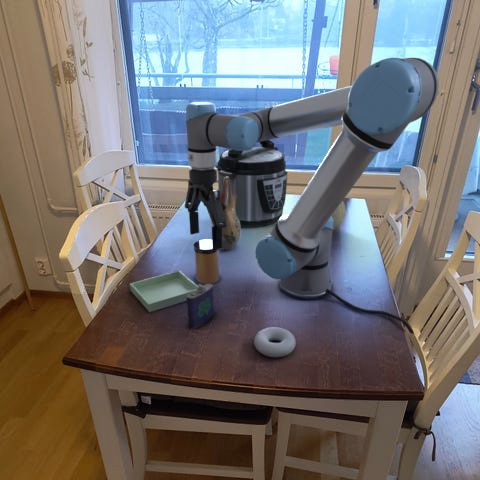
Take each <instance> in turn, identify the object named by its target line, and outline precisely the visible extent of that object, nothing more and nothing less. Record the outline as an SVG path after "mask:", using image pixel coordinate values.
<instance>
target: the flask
mask: <svg viewBox="0 0 480 480" xmlns="http://www.w3.org/2000/svg"><path fill="white" fill-rule="evenodd" d="M197 286H198V289H197V290H196V291H195V292H193V293H190V294H188V295H187V297H186V300H187V301H186V307H187V308H186V309H187V318H188V328H190V329H196V328H199V327H201V326H203V325H204V324H205V323H207V322H208V321H210V320H211V319H212V318H213V317H214V315H215V306H214V286H213V284H202V283H198V284H197Z"/></svg>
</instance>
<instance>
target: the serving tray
mask: <svg viewBox="0 0 480 480" xmlns="http://www.w3.org/2000/svg"><path fill="white" fill-rule="evenodd" d="M198 287H199V285H198V284H197V283H195V282H194V281H192V279H190V278H189V277H188V276H187V275H186V274H185V273H183V272H182V270H180V269H177V270H174V271H172V272H171V271H170V272H168V273H163V274H159V275H156V276H153V277H149V278H145V279H141V280H138V281H137V280H136V281H134V282H129V288H130V292H131V293H132V294H133V295H134V296H135V298H136V299H137V300H138V301H139V302H140V303H141V304H142V306H144V308H145V309H146V310H147V311H148V312H149V313H152V312H155V311H157V310H158V311H159V310H160V309H164V308H168V307H171V306H174V305H177V304H181V303H184V302H187V300H186V297H187V295H188V294H190V293H193V292H195V291H196V290H197V289H198Z"/></svg>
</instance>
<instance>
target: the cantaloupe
mask: <svg viewBox="0 0 480 480" xmlns="http://www.w3.org/2000/svg"><path fill="white" fill-rule="evenodd" d="M346 210H347V209H346V205H345V201H344V200H343V201H342V203H341V204H340V205H339V207H338V208H337V209H336V211H335V212H334V214H333V215H332V218H333V228H334V229H333V231H334V230H337V228H339V227H340V226H342V224H343V223H344V220H345V217H346V212H347V211H346Z"/></svg>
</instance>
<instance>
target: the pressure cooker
mask: <svg viewBox="0 0 480 480" xmlns="http://www.w3.org/2000/svg"><path fill="white" fill-rule="evenodd" d="M258 143H259V144H260V146H253V148H252V149H251V150H249V151H242V150H240V151H236V150H233V149H227V150H224V151H222V152H220V154H219V159H218V161H217V165H216V166H215V167H216V168H217V185H218V189H217V190H219V191H220V197H221V194H222V190H223V183H224V179H225V178H226V177H229V178H230V181H231V188H232V193H233V195H236V196H237V199H236V203H235V212H236V215H237V217H238V219H239V221H240V225H241V227H264V226H267V225H272V224H274V223H277V222H278V220H279V219H280V217H281V216H283V212H284V207H285V203H286V197H287V187H288V171H287V161H286V160H285V154H284V153H283V152H281V151H279V148H278V146H275V143H274V142H273V141H271V139H270V140H265V141H261V142H258ZM227 191H228V183H227V186H226V206H227Z"/></svg>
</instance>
